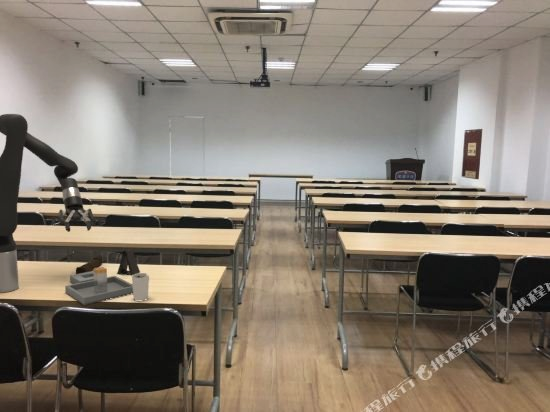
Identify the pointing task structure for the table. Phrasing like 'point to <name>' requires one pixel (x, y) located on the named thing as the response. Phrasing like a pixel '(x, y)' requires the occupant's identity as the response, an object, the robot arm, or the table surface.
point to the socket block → (82, 277)
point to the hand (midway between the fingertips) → (79, 230)
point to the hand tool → (90, 265)
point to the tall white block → (100, 279)
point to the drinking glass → (140, 286)
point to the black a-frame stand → (128, 263)
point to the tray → (88, 295)
